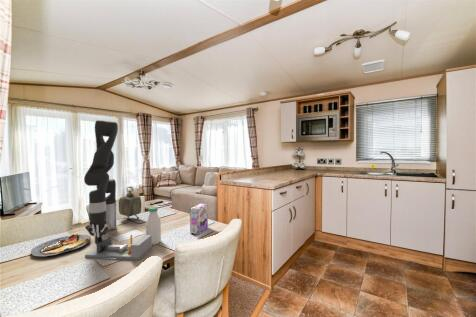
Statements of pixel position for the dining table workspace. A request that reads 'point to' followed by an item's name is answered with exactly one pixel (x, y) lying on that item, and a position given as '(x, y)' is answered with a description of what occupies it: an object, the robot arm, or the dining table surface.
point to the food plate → (61, 245)
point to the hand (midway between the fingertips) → (98, 243)
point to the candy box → (198, 218)
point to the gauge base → (126, 250)
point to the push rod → (109, 245)
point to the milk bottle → (153, 226)
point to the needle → (130, 245)
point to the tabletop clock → (130, 204)
